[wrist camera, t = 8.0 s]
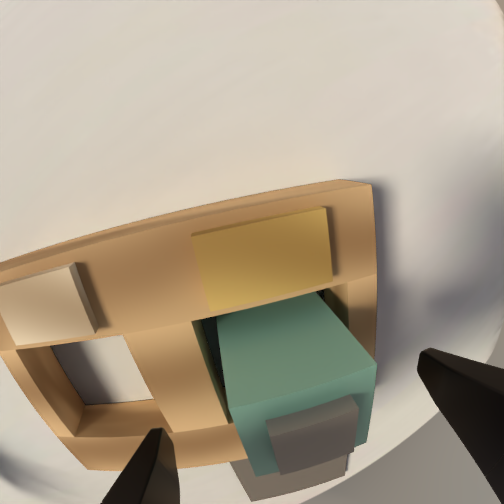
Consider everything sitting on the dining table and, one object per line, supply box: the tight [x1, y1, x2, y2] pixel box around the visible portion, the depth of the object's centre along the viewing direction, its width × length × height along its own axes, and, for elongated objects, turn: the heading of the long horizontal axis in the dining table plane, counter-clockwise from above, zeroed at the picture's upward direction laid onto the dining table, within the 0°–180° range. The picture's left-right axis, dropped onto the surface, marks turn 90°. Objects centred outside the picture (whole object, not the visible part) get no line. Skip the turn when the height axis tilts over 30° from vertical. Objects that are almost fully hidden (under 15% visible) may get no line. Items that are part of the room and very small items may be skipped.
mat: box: [230, 455, 347, 502], centre depth 17 cm, size 8×8×1 cm
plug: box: [216, 291, 377, 477], centre depth 10 cm, size 4×4×7 cm
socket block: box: [0, 179, 377, 471], centre depth 11 cm, size 12×16×3 cm
